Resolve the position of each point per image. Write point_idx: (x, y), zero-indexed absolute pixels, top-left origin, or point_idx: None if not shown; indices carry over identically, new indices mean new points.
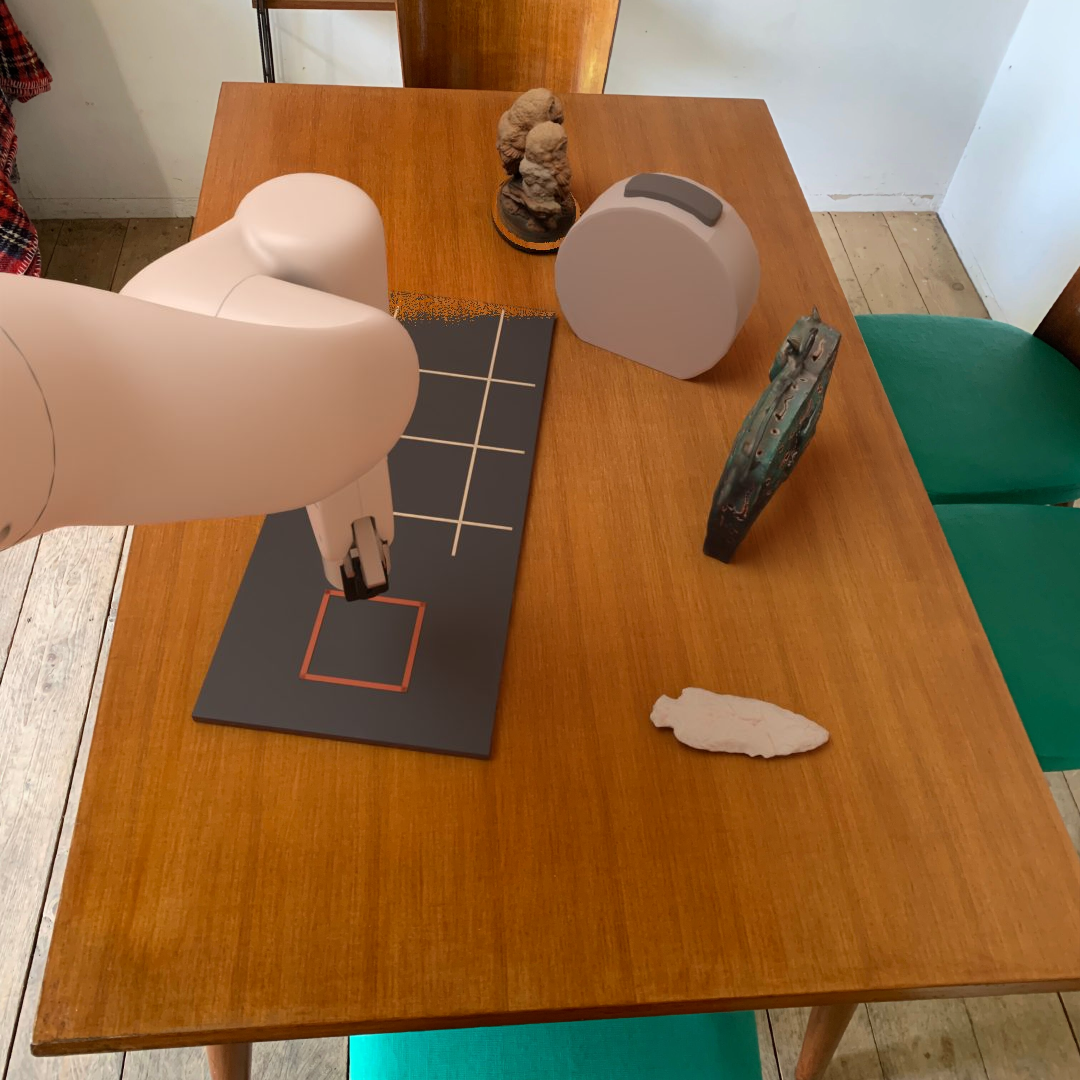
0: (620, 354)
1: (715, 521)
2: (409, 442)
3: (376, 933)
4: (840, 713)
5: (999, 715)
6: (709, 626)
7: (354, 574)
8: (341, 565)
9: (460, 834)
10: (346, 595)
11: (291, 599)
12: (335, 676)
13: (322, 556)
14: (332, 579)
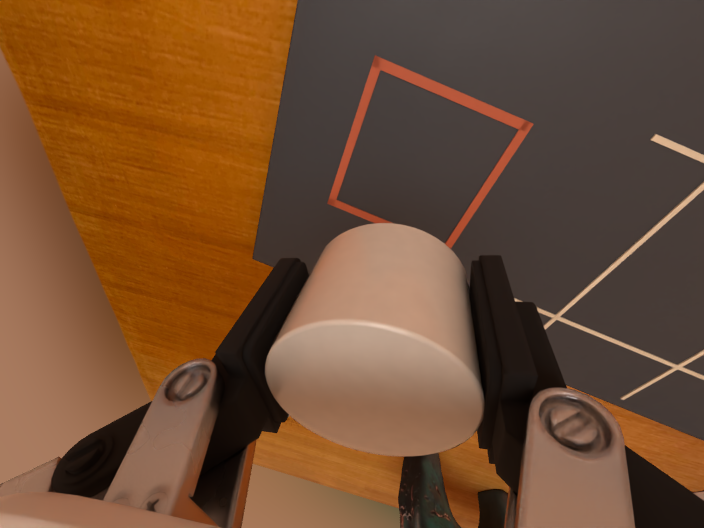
0: (698, 493)
1: (416, 487)
2: None
3: (86, 114)
4: (284, 431)
5: (279, 469)
6: None
7: (85, 446)
8: (239, 356)
9: (188, 211)
10: (273, 272)
11: (543, 55)
12: (366, 117)
13: (343, 283)
14: (330, 250)
